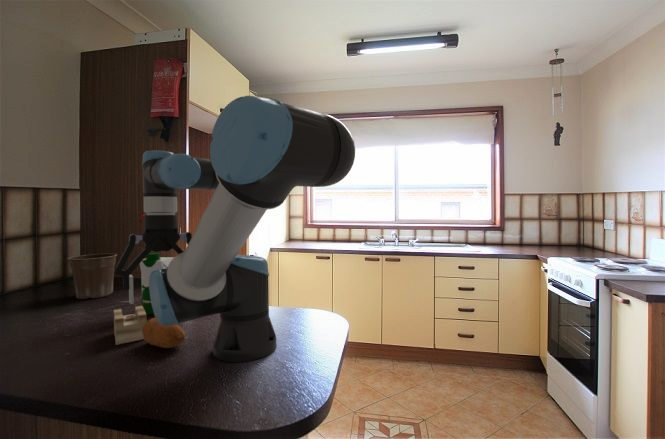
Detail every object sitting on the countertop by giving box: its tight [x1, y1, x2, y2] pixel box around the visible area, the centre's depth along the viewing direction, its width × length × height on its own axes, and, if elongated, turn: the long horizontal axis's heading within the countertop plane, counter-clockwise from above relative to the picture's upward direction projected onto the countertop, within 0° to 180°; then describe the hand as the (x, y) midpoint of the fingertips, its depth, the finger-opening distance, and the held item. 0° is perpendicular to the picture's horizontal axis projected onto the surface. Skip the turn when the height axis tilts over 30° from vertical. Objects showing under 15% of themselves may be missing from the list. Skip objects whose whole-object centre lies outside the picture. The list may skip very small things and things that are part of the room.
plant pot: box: [67, 253, 118, 300], centre depth 134 cm, size 16×16×16 cm
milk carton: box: [139, 252, 175, 315], centre depth 112 cm, size 9×9×20 cm
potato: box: [142, 317, 186, 349], centre depth 84 cm, size 7×13×7 cm, turn 52°
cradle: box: [113, 305, 148, 346], centre depth 90 cm, size 10×7×6 cm
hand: (162, 298), depth 83 cm, fingers open, 13 cm apart
